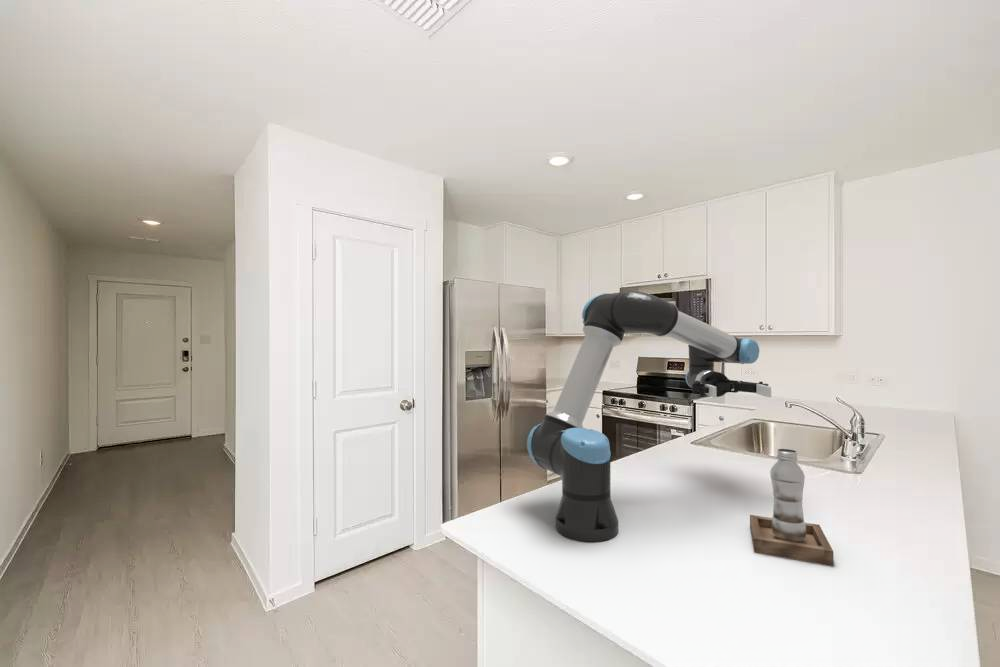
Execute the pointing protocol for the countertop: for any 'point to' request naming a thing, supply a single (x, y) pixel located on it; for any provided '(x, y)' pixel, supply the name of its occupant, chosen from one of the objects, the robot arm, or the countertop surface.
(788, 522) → the plastic bottle
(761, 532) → the wooden tray
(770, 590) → the countertop surface
